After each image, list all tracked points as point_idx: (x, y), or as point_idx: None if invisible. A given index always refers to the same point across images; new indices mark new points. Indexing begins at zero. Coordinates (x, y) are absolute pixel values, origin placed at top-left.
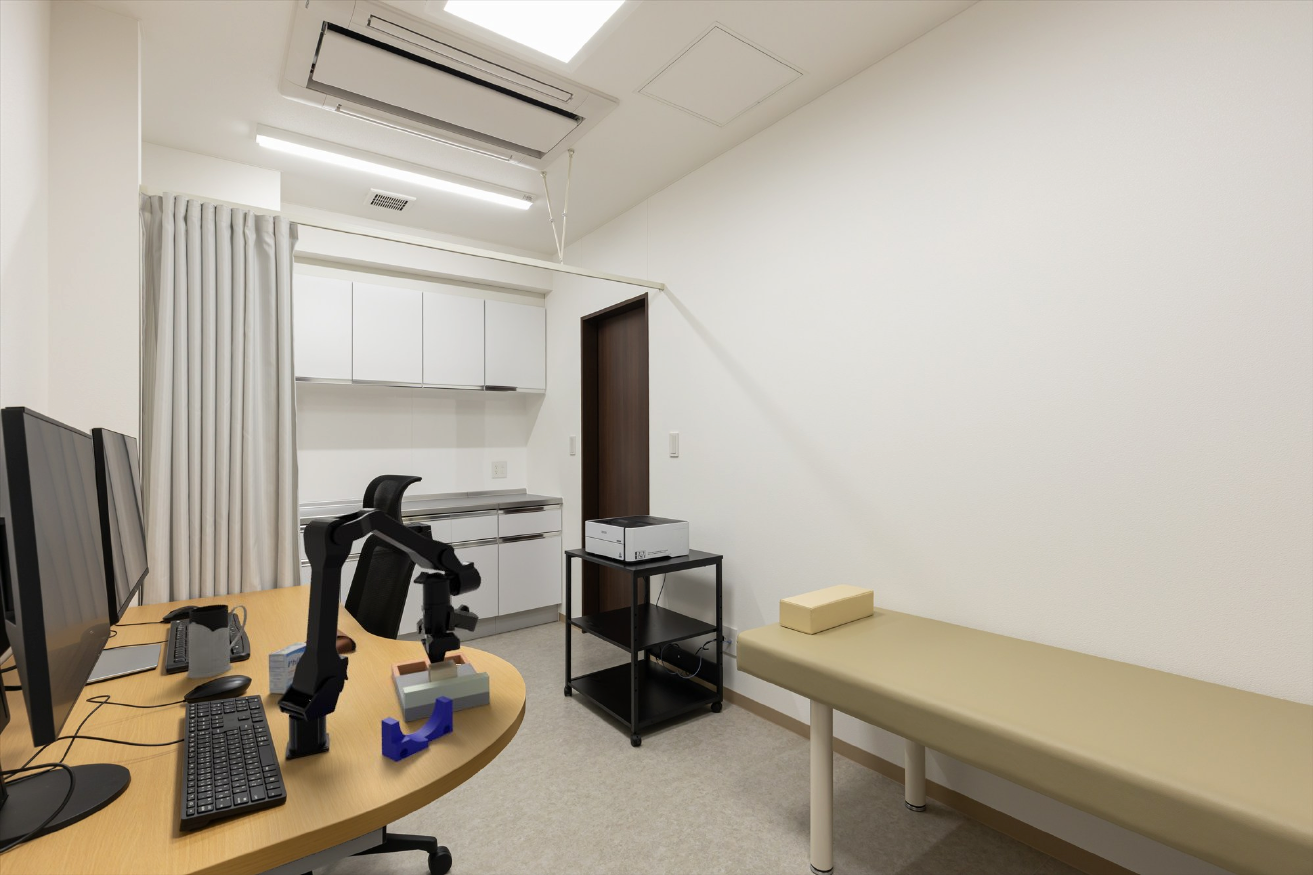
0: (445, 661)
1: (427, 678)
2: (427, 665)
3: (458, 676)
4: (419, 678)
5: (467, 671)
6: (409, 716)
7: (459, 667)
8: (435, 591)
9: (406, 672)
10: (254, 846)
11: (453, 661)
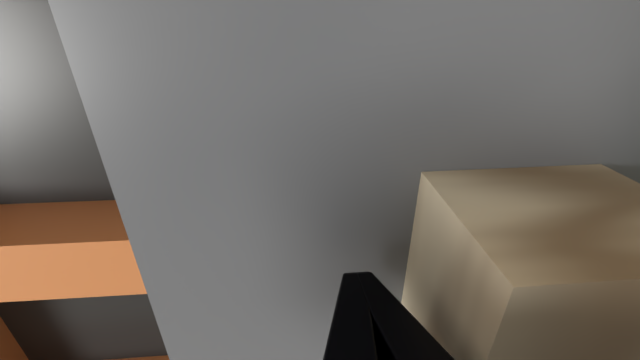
0: (506, 349)
1: (311, 306)
2: (22, 297)
3: (407, 125)
4: (285, 339)
5: (324, 19)
6: None
7: (163, 76)
8: None
9: (6, 340)
10: None
11: (588, 284)
